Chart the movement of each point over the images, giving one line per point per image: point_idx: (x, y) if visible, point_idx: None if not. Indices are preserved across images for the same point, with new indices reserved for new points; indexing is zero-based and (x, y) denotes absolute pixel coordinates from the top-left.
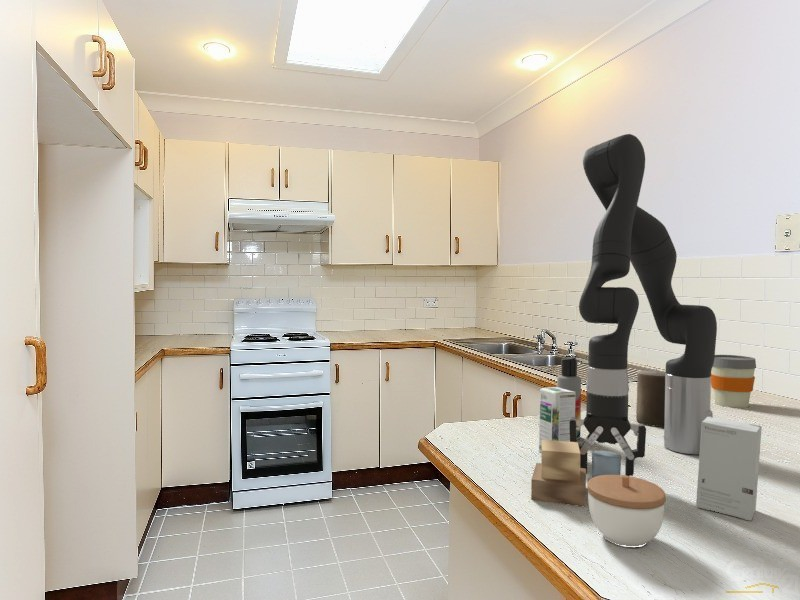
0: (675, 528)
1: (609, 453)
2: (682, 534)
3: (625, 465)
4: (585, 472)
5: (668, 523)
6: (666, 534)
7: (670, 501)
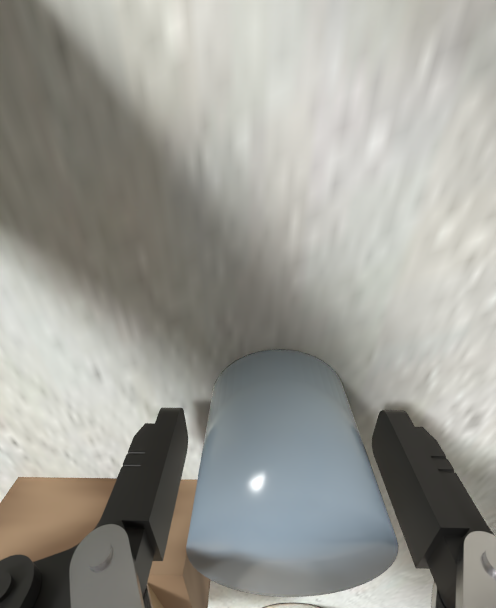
0: (410, 588)
1: (318, 536)
2: (413, 598)
3: (404, 472)
4: (187, 597)
5: (403, 578)
6: (378, 602)
7: (480, 499)
